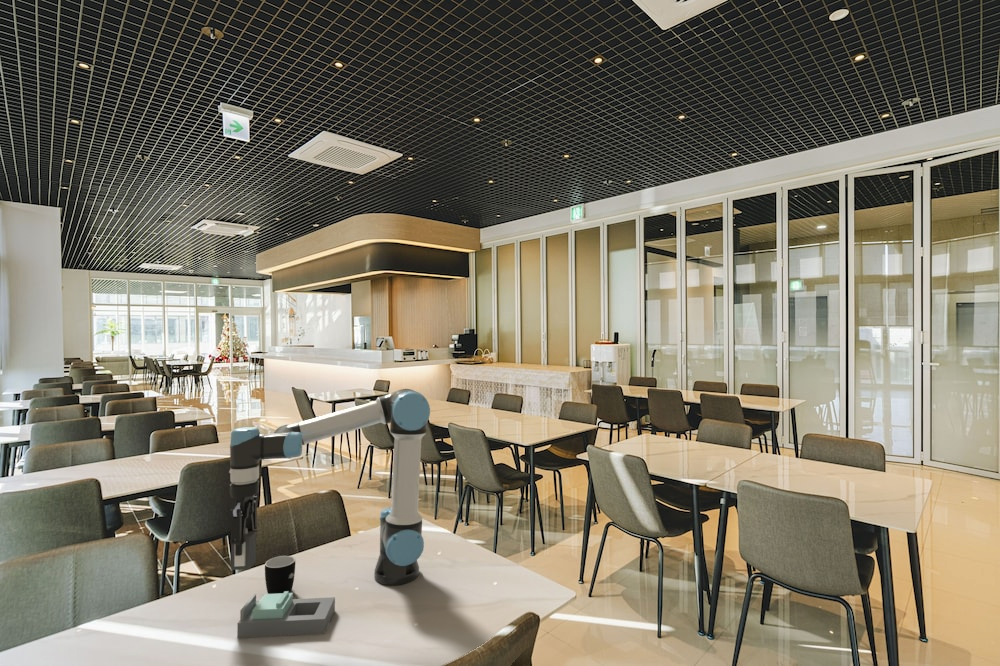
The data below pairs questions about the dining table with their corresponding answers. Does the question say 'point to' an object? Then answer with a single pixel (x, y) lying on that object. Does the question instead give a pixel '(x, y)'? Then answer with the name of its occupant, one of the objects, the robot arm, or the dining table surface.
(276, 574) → the mug
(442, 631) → the dining table surface
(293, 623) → the socket
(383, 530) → the robot arm
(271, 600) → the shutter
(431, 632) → the dining table surface
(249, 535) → the plug
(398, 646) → the dining table surface
